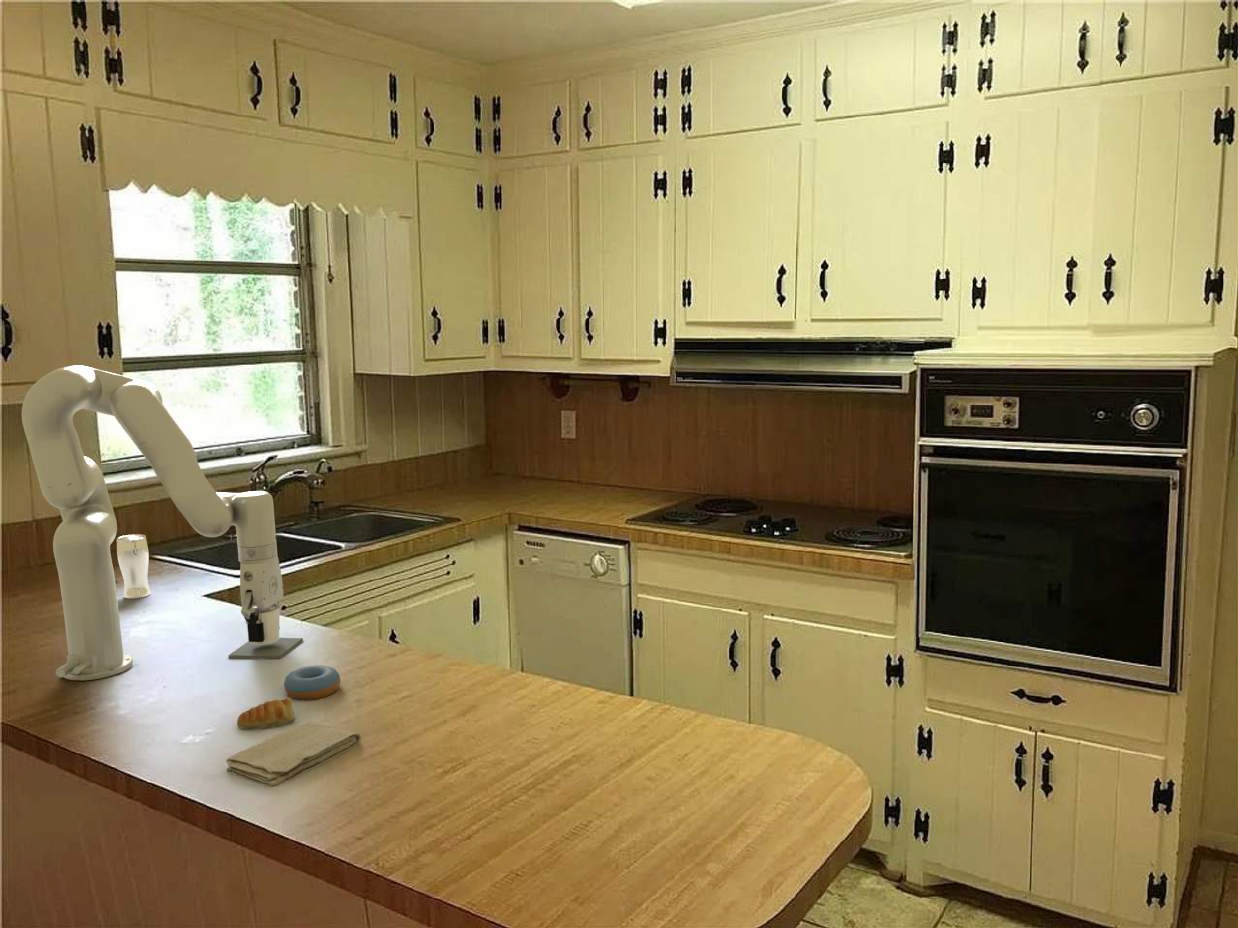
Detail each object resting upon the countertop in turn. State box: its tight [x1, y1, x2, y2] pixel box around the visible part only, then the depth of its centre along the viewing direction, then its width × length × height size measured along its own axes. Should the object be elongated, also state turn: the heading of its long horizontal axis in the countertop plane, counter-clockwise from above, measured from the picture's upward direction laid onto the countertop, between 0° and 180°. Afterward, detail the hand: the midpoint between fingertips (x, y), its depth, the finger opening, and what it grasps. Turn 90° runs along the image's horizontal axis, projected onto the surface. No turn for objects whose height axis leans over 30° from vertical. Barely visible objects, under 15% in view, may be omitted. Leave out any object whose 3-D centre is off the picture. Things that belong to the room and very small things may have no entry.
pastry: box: [236, 697, 296, 731], centre depth 173 cm, size 9×7×4 cm
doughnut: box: [283, 665, 341, 701], centre depth 186 cm, size 10×10×5 cm
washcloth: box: [225, 721, 362, 787], centre depth 159 cm, size 12×18×3 cm, turn 150°
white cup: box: [251, 604, 281, 645], centre depth 210 cm, size 7×7×7 cm
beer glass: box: [116, 533, 152, 600], centre depth 252 cm, size 7×7×15 cm
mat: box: [228, 637, 304, 660], centre depth 210 cm, size 11×11×1 cm
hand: (264, 635), depth 210 cm, fingers closed on white cup, 6 cm apart
